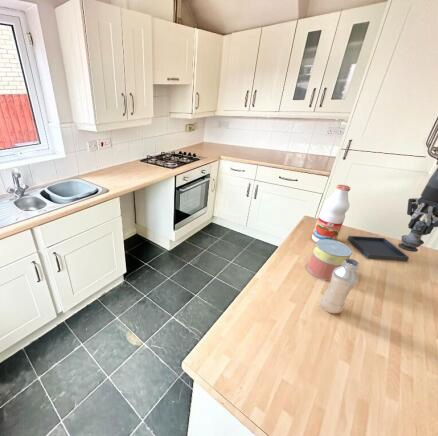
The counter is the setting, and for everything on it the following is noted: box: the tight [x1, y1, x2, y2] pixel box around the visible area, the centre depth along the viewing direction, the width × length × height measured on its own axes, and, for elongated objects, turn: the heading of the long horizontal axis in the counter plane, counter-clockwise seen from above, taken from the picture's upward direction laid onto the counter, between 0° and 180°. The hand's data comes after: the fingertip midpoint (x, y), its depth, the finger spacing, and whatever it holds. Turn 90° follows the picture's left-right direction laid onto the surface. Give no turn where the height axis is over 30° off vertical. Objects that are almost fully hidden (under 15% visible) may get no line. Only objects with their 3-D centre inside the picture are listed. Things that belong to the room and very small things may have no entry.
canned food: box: [307, 239, 353, 281], centre depth 96 cm, size 11×11×12 cm
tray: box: [347, 235, 410, 262], centre depth 110 cm, size 15×15×2 cm
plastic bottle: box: [319, 258, 360, 315], centre depth 77 cm, size 6×7×20 cm
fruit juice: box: [311, 184, 351, 243], centre depth 111 cm, size 9×9×28 cm
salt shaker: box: [397, 219, 427, 253], centre depth 86 cm, size 6×6×12 cm
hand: (417, 231), depth 86 cm, fingers closed on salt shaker, 3 cm apart
